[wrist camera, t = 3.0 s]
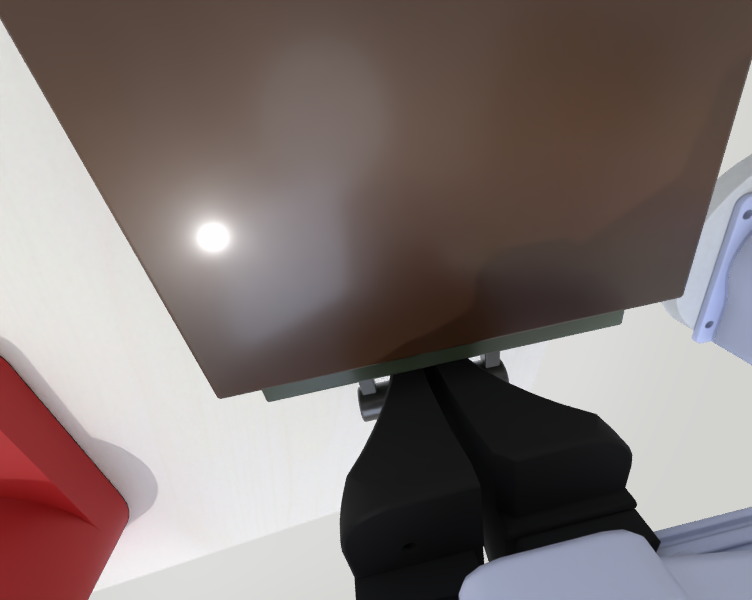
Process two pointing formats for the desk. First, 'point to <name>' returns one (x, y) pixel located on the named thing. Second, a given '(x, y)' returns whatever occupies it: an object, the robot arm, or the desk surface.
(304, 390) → the drawer
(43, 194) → the desk surface
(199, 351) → the cabinet
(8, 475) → the lever
